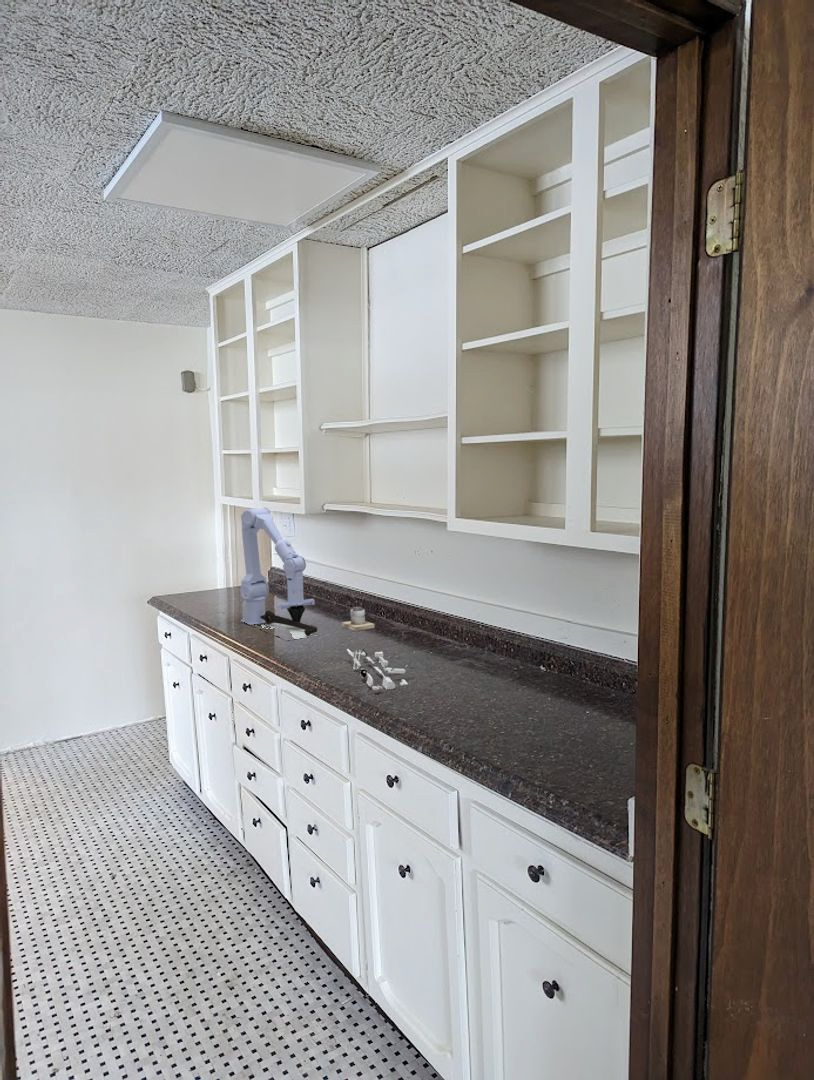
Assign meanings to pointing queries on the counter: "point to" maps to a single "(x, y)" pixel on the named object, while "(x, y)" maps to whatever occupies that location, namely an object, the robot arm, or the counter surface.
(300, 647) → the counter surface
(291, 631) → the tool mat
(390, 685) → the miniature set
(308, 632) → the dark brown hooked rod
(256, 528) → the robot arm
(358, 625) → the cup on beige base
